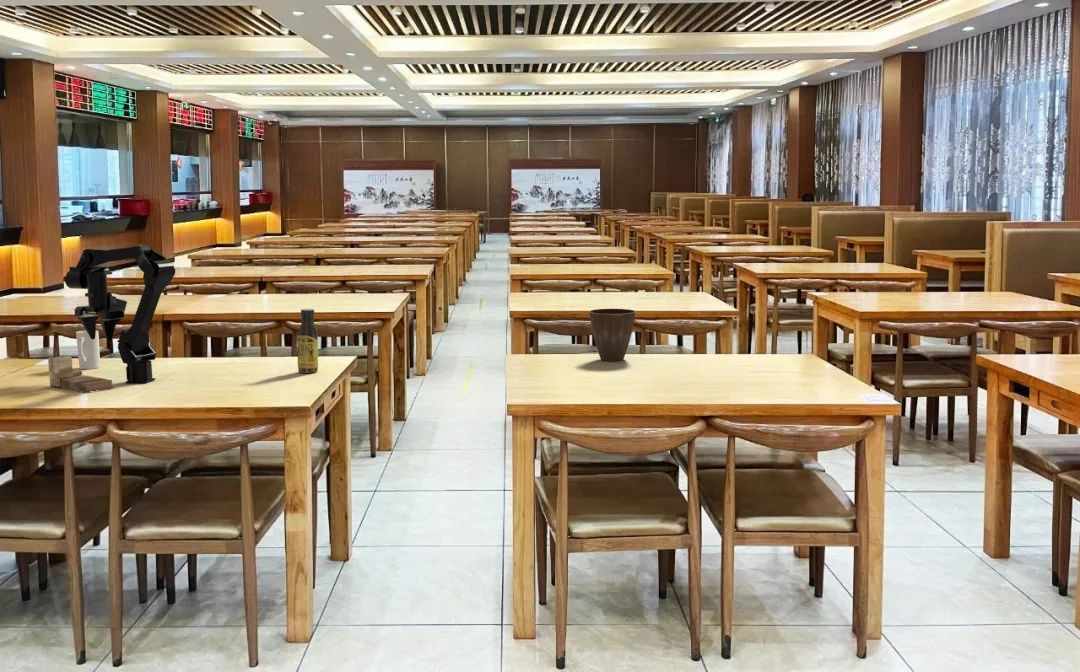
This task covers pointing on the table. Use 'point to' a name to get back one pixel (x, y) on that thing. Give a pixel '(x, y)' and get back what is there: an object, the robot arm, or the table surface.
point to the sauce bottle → (307, 343)
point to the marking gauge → (60, 369)
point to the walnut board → (85, 383)
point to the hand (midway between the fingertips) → (101, 340)
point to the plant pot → (612, 332)
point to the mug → (88, 350)
